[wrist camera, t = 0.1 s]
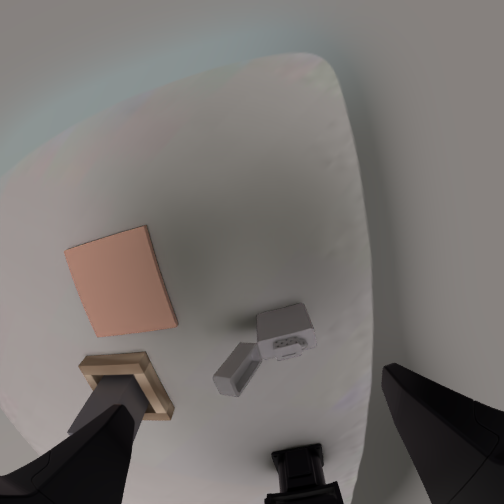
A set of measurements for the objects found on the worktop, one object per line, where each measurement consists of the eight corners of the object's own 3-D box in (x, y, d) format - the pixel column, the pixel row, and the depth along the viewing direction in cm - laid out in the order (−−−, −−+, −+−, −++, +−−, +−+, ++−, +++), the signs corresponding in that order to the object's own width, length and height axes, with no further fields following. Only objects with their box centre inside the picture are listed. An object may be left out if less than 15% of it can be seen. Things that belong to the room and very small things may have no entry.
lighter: (303, 302, 23) (325, 357, 15) (307, 319, 23) (329, 378, 15) (222, 322, 23) (210, 382, 15) (228, 338, 24) (220, 401, 16)
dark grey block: (151, 396, 26) (124, 465, 16) (123, 396, 26) (91, 459, 16) (136, 368, 25) (99, 438, 15) (107, 369, 25) (67, 432, 15)
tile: (178, 323, 23) (176, 327, 23) (99, 334, 24) (97, 337, 23) (146, 224, 21) (143, 226, 20) (67, 249, 22) (63, 251, 21)
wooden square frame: (174, 407, 26) (170, 420, 24) (117, 407, 27) (112, 418, 25) (145, 351, 24) (138, 363, 22) (86, 356, 25) (78, 366, 23)
